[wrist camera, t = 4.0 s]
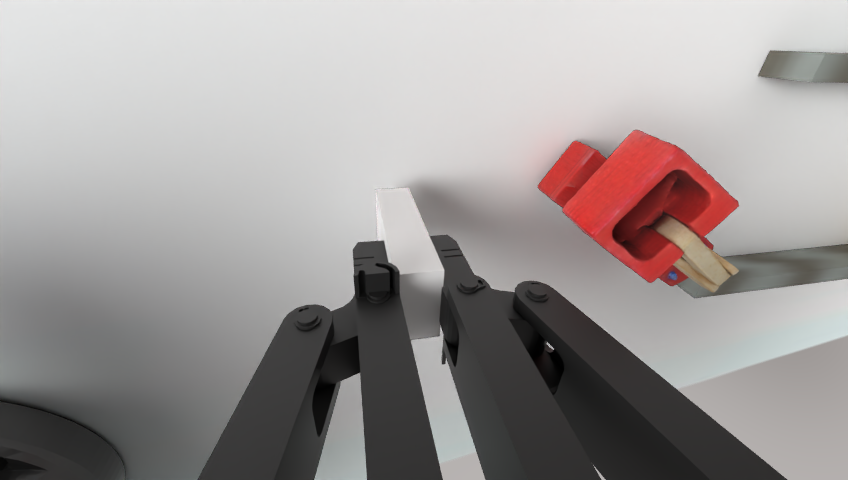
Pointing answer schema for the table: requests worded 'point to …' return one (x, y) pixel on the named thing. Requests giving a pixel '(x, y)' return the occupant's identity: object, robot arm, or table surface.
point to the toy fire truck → (645, 208)
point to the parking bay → (801, 262)
